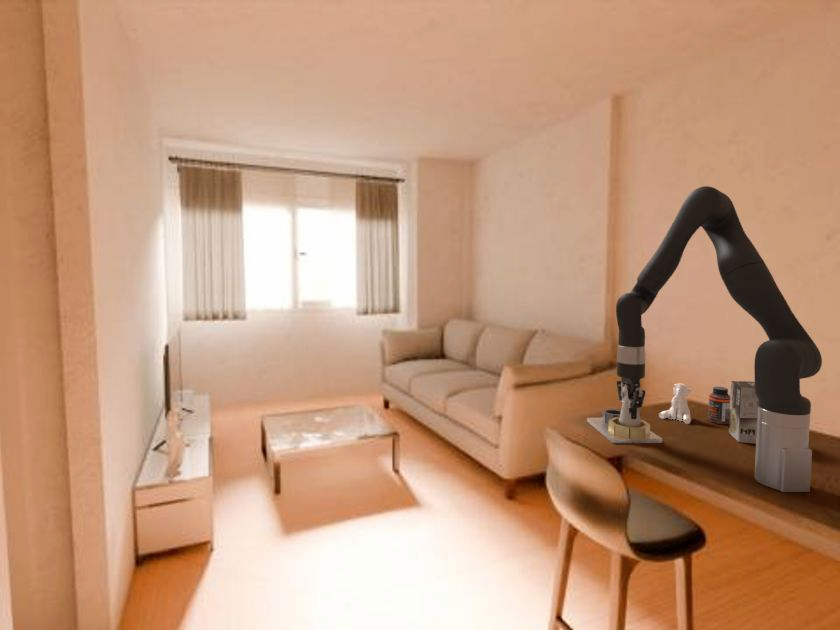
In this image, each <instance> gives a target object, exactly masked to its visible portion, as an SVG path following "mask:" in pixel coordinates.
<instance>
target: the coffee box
mask: <svg viewBox="0 0 840 630" xmlns="http://www.w3.org/2000/svg"><path fill="white" fill-rule="evenodd" d="M729 393H730V394H729V396H730V417H729V424H728V425H729V427H728V433H729V435H731V436H732V437H733V438H734V439H735V440H736V441H737V442H738V443H744V444H754V445H756V438H757V419H758V398H757V395H756V393H755V381H746V380H744V381H743V380H742V381H741V380H739V381H735V380H731V381H730V392H729Z"/></svg>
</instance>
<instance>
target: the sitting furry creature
mask: <svg viewBox="0 0 840 630" xmlns="http://www.w3.org/2000/svg"><path fill="white" fill-rule="evenodd" d="M672 390H673V395H674V396H673V397H672V399H671V401H670V404H671V406H670V408H669V409H667V410H663V411H661V412H659V413H658V418H660V419H662V420H665V419H666V418H668V419H667V420H672V419H673V421H677V420H679V422H681V421H683V422H682V423H684V424H685V425H690V424H691V421H692V418H691V412H690V408H689V406H688V404H689V403H688V399H687V398H686V397H687V396H688V395H689V394H690V393H691V392H692V391H693V388H692V387H691V388H689V387H688V386H687V385H686V384H685V383H683V382H678V383H674V387H673V389H672ZM675 419H676V420H675ZM682 419H683V420H682Z"/></svg>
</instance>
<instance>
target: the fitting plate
mask: <svg viewBox="0 0 840 630" xmlns="http://www.w3.org/2000/svg"><path fill="white" fill-rule="evenodd" d="M620 413H621V410H619V409H614V408H612V409H610V408H609V409H608V408H607V409H604V410H602V412H601V414H602V416H601V417H587V418H586V421H587V423H588V424H590V425H591V427H593V428H594V429H595V430H597V431H598V432H599V433H600V434H601V435H602V436H604V438H606V439H607V440H608V441H610V443H612V444H662V443H663V438H662V437H660V436H659V435H658V434H656V433H654V432H653V431H651V424H650V423H648V422H647V421H645V420H643V419H640V421H641V423H640V426H639V427H626V426H621V424H620V422H619V417H620ZM632 442H634V443H632Z"/></svg>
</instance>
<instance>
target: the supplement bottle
mask: <svg viewBox="0 0 840 630" xmlns="http://www.w3.org/2000/svg"><path fill="white" fill-rule="evenodd" d="M728 389H729V388H727V387H724V386H713V388H712V392H711V393H710V394H709V395H708V410H707V411H708V415H707V418H708V419H707V420H708V421H709V422H710V423H712V422H713V423H712V424H716V425H729V417H730V394H729V390H728Z"/></svg>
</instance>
